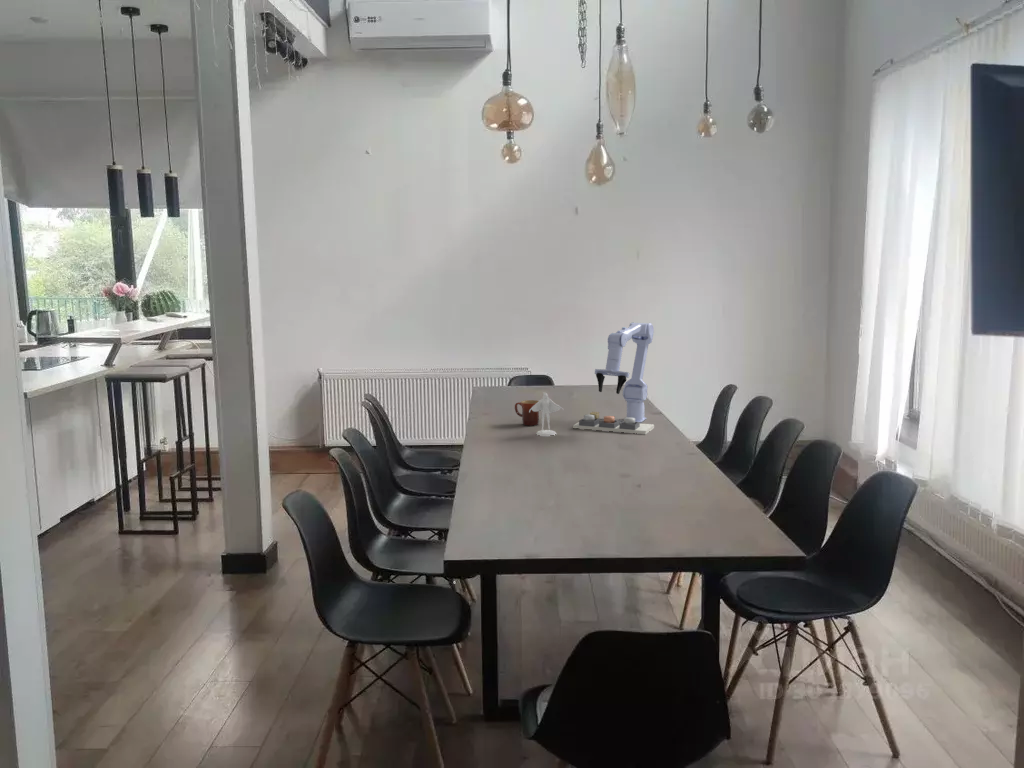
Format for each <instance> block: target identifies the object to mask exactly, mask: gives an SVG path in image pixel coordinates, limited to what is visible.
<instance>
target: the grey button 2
mask: <svg viewBox="0 0 1024 768" xmlns="http://www.w3.org/2000/svg"><path fill="white" fill-rule="evenodd" d="M623 421H624V424H630V425H635V418H633V417H627V416H626V417H624V418H623Z"/></svg>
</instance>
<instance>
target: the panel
mask: <svg viewBox="0 0 1024 768" xmlns="http://www.w3.org/2000/svg"><path fill="white" fill-rule="evenodd" d="M573 428H580V429H579V430H584V429H592V430H591V431H596V430H602V431H601V432H609V431H613V432H612V433H621V432H624V434H633V433H635V434H636V433H637V435H647V434H648V433H650V432H651V431H652V430H653V429H655V424H651V423H640V422H635V425H630V424H624V419H615V423H604V418H600V417H599V418H598V419H595V421H594V422H590V421H584V417H583V418H582V419H580V420H579V421H578V422H576V423H575V424H573V425H572V429H573ZM649 431H650V432H649Z"/></svg>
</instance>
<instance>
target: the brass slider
mask: <svg viewBox="0 0 1024 768" xmlns="http://www.w3.org/2000/svg"><path fill="white" fill-rule="evenodd" d="M589 414H591V415H595V419H598V418H599V419H600V412H599V411H592V412H590V413H589Z"/></svg>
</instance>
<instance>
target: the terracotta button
mask: <svg viewBox="0 0 1024 768" xmlns="http://www.w3.org/2000/svg"><path fill="white" fill-rule="evenodd" d="M603 419H604V423H615V420H616V419H615V416H613V415H604V416H603Z"/></svg>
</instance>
